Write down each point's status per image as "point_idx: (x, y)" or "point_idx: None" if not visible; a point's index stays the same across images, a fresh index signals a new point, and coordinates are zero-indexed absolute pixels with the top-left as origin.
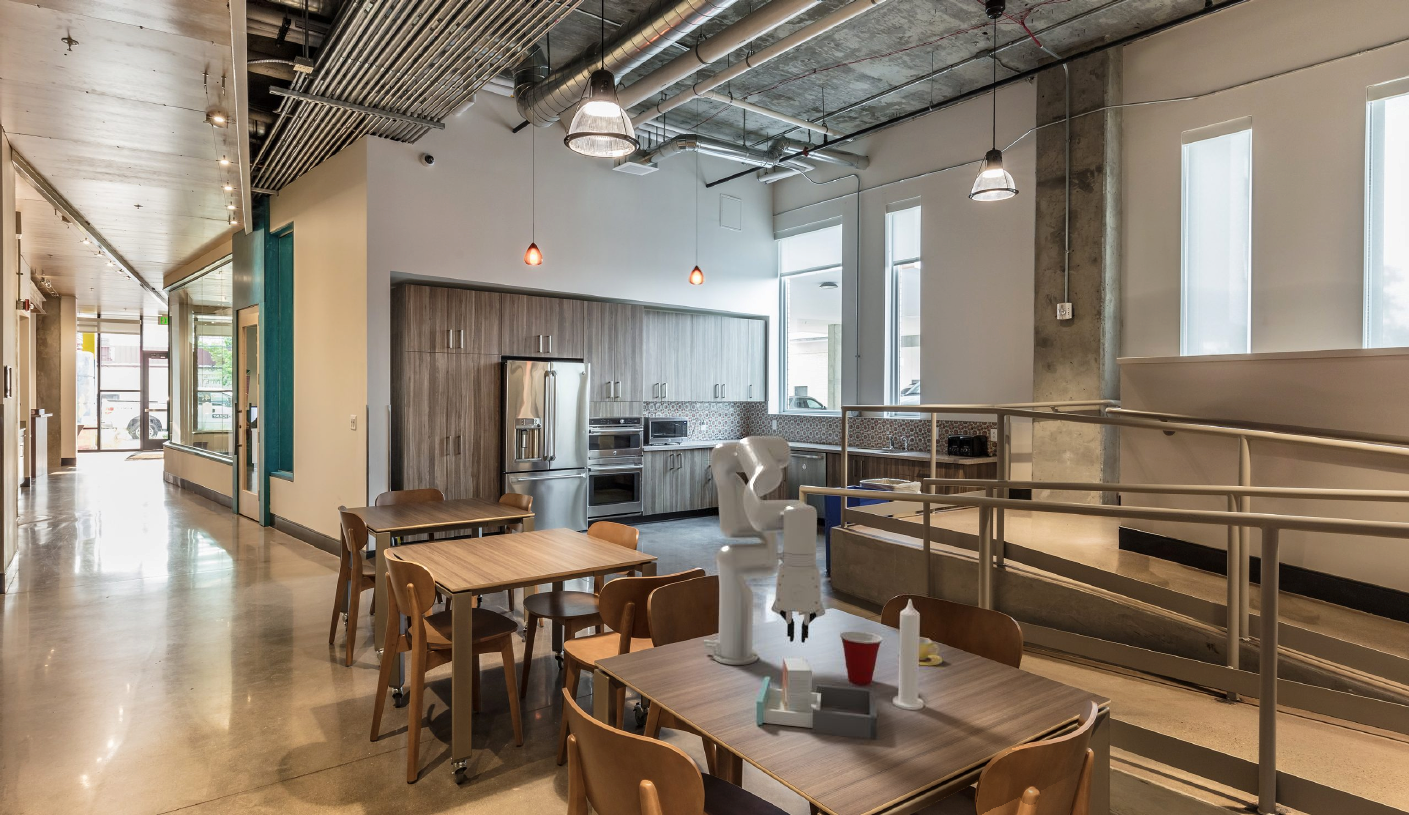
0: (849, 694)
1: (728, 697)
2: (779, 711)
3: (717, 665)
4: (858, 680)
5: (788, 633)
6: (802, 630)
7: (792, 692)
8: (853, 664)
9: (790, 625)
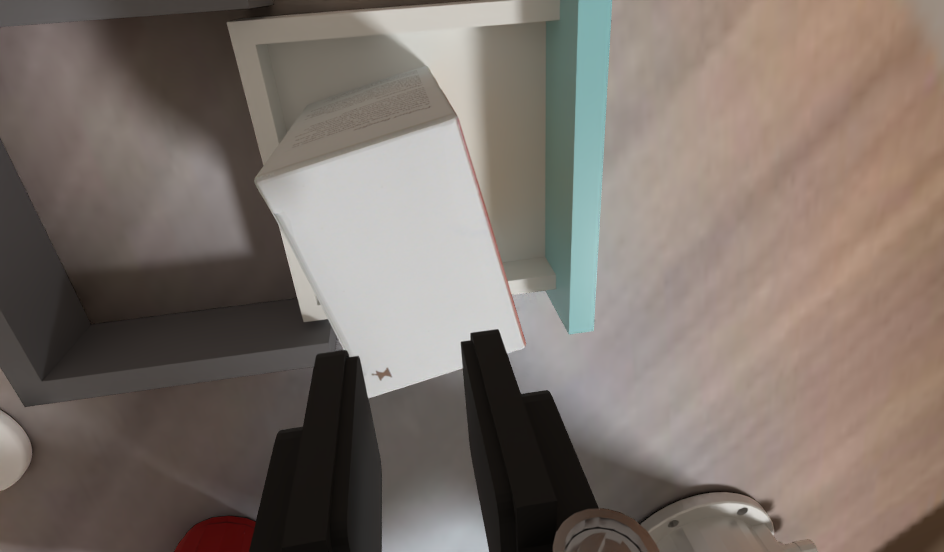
0: (160, 350)
1: (709, 235)
2: (463, 4)
3: (750, 474)
4: (217, 530)
5: (540, 412)
6: (331, 460)
7: (405, 93)
8: None
9: (546, 484)
